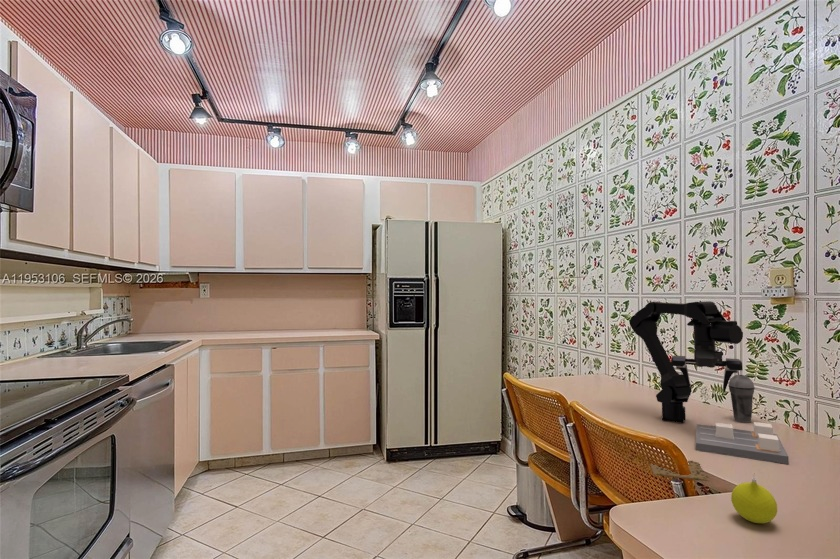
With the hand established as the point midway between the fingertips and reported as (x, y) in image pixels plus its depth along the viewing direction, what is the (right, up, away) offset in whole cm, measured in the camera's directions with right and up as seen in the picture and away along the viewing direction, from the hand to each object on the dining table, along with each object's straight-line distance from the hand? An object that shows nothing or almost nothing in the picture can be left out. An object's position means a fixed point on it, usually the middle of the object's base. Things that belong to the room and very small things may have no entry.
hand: (706, 389), depth 138 cm
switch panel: (0, -13, -13) cm, 18 cm away
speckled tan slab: (-26, -13, -28) cm, 41 cm away
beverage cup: (+18, -13, +9) cm, 24 cm away
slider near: (+2, -10, -22) cm, 24 cm away
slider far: (+9, -10, -12) cm, 18 cm away
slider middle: (-2, -10, -12) cm, 16 cm away
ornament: (-26, -12, -54) cm, 61 cm away
